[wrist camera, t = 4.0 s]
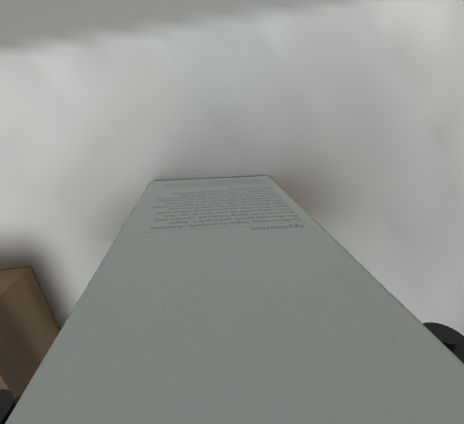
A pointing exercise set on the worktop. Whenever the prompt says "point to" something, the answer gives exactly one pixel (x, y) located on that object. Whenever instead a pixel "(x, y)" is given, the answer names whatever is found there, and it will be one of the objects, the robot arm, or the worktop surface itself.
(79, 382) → the small box
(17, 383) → the walnut stand
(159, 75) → the worktop surface
